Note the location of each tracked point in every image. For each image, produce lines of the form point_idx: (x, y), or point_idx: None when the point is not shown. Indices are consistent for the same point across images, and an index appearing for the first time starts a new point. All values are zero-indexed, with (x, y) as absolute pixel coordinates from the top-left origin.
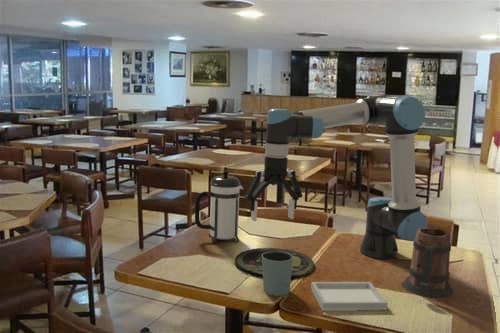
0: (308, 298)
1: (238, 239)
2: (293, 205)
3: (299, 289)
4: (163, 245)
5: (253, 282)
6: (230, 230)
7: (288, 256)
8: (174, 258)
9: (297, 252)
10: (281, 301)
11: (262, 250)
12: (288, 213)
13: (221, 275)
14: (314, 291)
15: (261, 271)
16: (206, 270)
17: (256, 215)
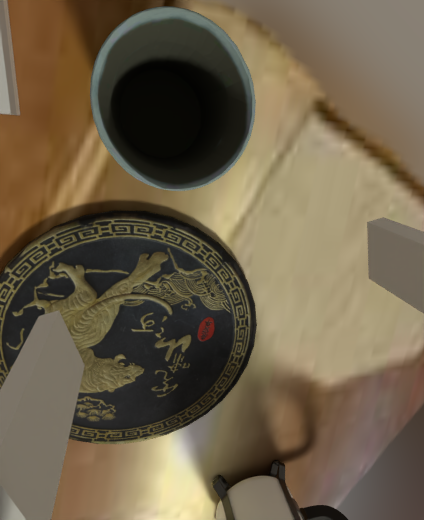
0: (42, 22)
1: (215, 486)
2: (2, 406)
3: (69, 117)
4: (395, 428)
5: (224, 190)
6: (248, 505)
7: (111, 136)
8: (392, 354)
9: None
10: None
11: (157, 421)
12: (77, 382)
13: (306, 247)
14: (7, 47)
15: (189, 256)
16: (336, 281)
17: (401, 233)
